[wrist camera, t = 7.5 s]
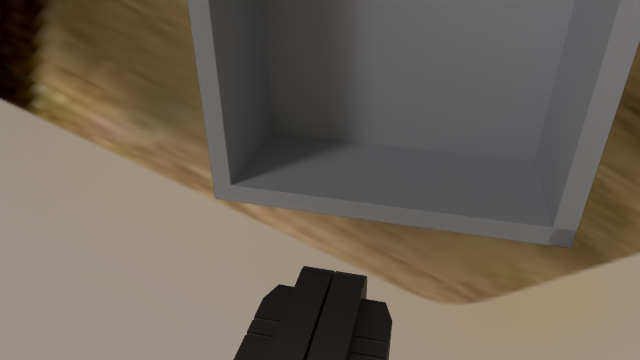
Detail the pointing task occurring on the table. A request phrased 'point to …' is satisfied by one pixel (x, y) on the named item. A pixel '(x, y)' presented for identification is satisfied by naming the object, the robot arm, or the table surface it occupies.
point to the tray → (415, 107)
